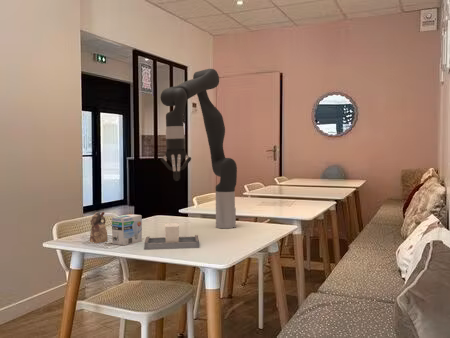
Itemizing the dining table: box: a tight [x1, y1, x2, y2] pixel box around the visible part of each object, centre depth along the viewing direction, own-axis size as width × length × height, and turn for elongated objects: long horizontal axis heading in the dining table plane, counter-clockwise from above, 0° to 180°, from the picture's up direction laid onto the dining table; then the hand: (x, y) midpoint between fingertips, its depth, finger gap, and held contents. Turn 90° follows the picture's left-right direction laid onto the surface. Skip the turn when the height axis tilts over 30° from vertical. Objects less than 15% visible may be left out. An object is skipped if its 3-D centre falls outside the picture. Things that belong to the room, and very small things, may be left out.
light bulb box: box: [111, 213, 143, 246], centre depth 174 cm, size 11×7×11 cm, turn 148°
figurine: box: [89, 211, 108, 244], centre depth 177 cm, size 7×7×12 cm
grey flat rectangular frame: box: [143, 234, 200, 250], centre depth 168 cm, size 20×12×2 cm, turn 96°
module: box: [164, 222, 180, 243], centre depth 168 cm, size 5×8×8 cm, turn 7°
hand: (176, 180), depth 177 cm, fingers closed
